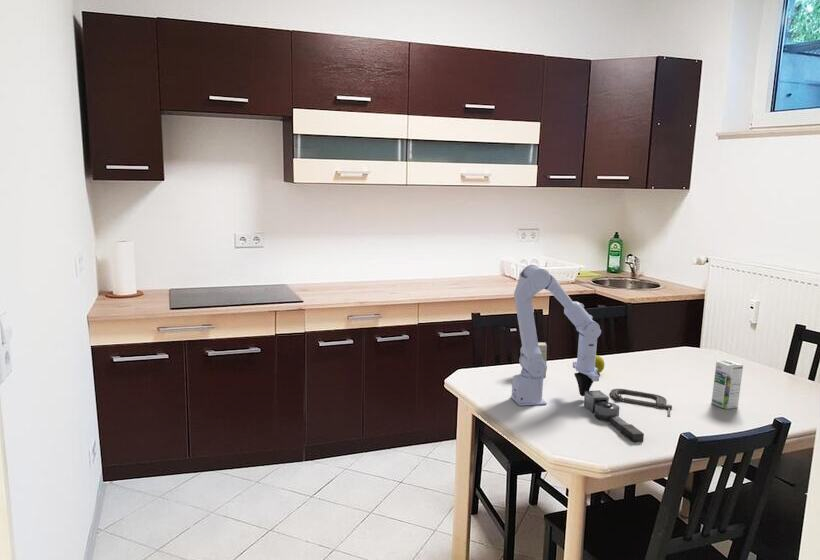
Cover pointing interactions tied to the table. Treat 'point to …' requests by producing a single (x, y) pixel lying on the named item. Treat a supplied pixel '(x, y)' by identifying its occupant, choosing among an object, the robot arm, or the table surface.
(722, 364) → the syrup box
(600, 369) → the tennis ball
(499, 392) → the table surface
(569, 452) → the table surface
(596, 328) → the robot arm
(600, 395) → the brushed steel cube
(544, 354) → the skincare box
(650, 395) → the c clamp
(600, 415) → the ratchet
